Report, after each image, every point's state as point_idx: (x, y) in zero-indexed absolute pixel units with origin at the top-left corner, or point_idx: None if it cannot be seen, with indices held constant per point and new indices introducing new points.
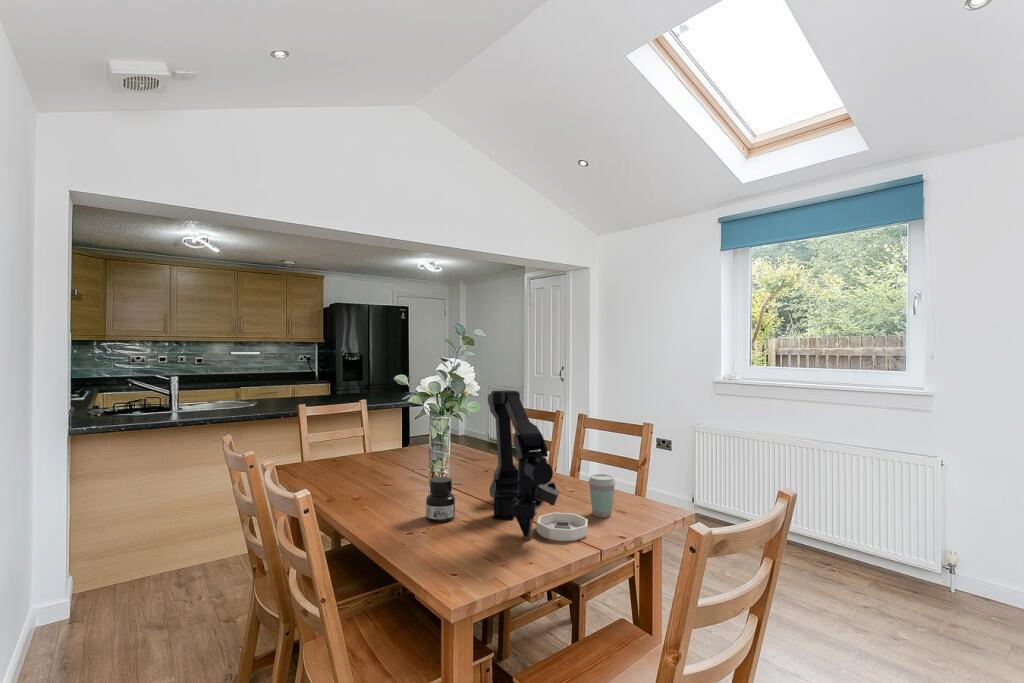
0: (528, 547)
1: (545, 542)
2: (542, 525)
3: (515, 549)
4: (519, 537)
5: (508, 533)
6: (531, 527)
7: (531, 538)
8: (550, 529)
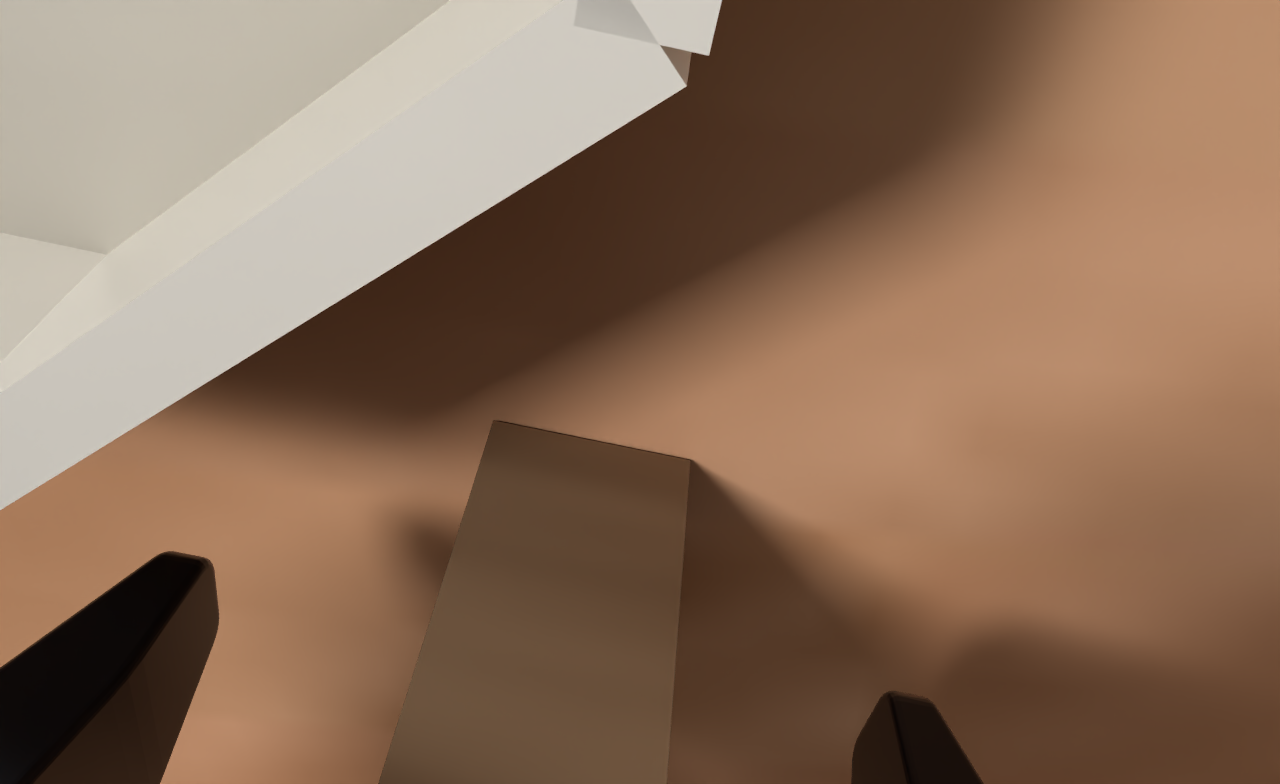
0: (1186, 550)
1: (908, 81)
2: (228, 362)
3: (1211, 755)
4: None
5: (319, 765)
6: (536, 709)
7: (574, 439)
8: (718, 6)
